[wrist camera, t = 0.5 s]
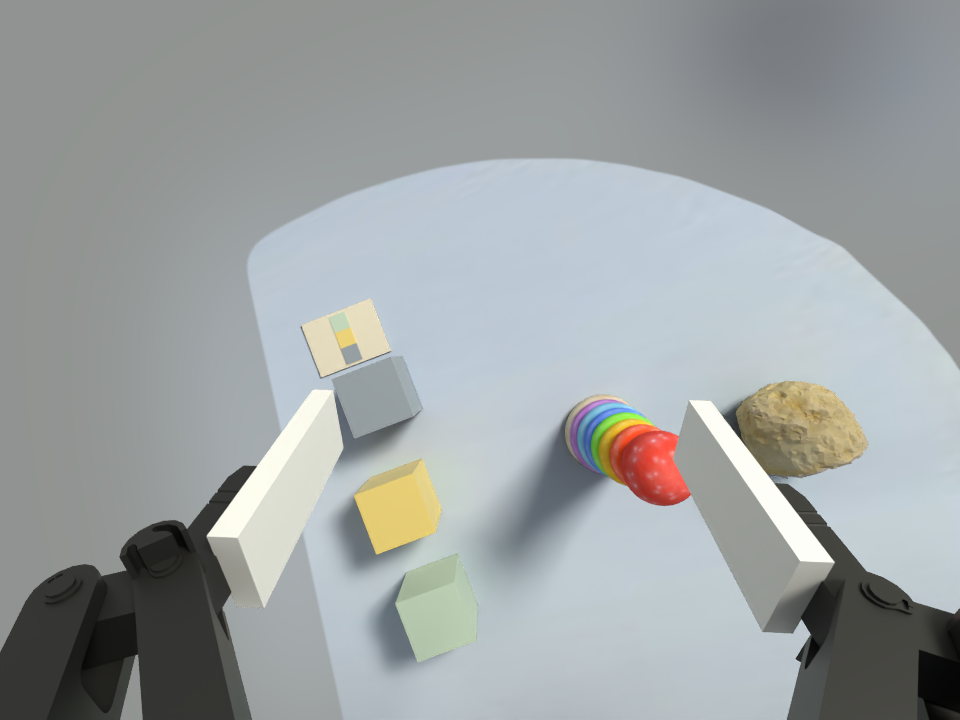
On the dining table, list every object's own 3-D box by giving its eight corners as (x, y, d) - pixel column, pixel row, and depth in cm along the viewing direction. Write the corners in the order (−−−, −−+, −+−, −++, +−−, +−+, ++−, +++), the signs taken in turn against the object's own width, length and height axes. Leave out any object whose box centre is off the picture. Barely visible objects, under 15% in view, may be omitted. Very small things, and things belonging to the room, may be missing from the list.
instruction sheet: (390, 350, 46) (390, 351, 46) (321, 377, 47) (320, 377, 46) (371, 298, 46) (370, 298, 46) (301, 325, 47) (300, 325, 46)
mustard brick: (441, 509, 47) (435, 532, 41) (390, 528, 47) (376, 554, 41) (422, 457, 47) (412, 473, 41) (370, 477, 47) (353, 495, 41)
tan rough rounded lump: (790, 523, 39) (783, 439, 35) (725, 454, 49) (714, 381, 44) (897, 490, 38) (903, 400, 34) (811, 426, 48) (807, 349, 43)
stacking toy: (651, 415, 46) (764, 458, 27) (615, 481, 46) (702, 567, 28) (586, 380, 46) (654, 399, 27) (550, 445, 46) (593, 508, 28)
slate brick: (422, 408, 47) (413, 416, 41) (371, 427, 47) (354, 438, 41) (403, 356, 47) (390, 356, 41) (351, 376, 47) (331, 379, 41)
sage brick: (477, 603, 47) (476, 640, 41) (426, 623, 47) (417, 662, 41) (458, 552, 47) (454, 582, 41) (406, 571, 47) (395, 603, 41)
